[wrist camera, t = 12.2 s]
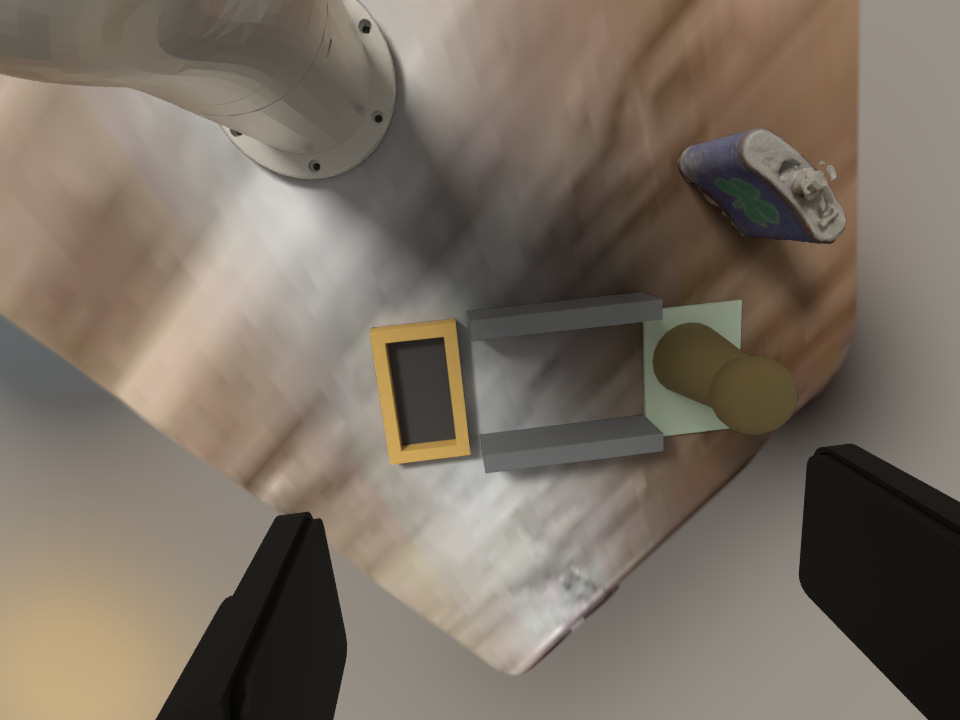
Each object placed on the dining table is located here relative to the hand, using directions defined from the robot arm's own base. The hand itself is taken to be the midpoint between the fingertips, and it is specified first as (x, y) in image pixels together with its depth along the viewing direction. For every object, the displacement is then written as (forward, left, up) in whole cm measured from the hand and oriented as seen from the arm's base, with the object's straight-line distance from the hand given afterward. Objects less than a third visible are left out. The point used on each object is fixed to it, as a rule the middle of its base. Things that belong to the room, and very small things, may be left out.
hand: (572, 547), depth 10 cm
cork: (+7, +17, -32) cm, 37 cm away
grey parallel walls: (+7, +7, -32) cm, 34 cm away
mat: (+8, +18, -32) cm, 38 cm away
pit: (+7, -5, -32) cm, 33 cm away
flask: (-6, +20, -32) cm, 39 cm away
